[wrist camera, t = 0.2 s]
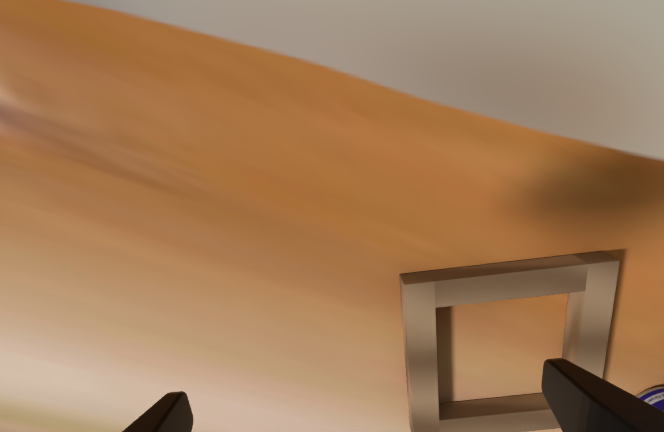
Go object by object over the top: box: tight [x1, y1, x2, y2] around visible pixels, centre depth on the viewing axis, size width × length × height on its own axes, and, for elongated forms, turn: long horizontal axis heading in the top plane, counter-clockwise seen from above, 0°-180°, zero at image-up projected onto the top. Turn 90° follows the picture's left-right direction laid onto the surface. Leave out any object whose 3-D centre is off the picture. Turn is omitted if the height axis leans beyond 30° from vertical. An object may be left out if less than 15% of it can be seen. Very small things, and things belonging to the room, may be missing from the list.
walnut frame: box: [400, 251, 620, 432], centre depth 25 cm, size 14×14×2 cm
